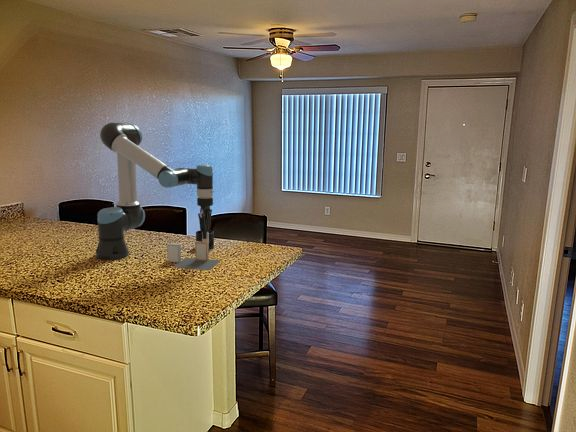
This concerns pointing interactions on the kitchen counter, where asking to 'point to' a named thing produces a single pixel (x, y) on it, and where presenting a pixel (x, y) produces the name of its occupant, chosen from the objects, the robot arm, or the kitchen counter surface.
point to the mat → (197, 264)
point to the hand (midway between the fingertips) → (205, 244)
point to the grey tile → (174, 252)
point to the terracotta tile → (201, 251)
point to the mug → (211, 238)
